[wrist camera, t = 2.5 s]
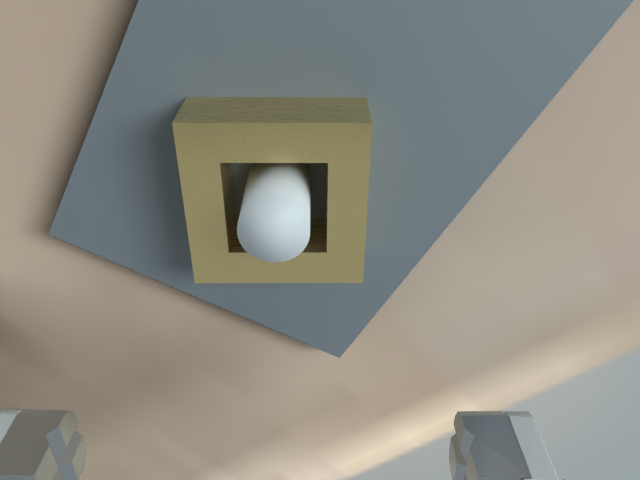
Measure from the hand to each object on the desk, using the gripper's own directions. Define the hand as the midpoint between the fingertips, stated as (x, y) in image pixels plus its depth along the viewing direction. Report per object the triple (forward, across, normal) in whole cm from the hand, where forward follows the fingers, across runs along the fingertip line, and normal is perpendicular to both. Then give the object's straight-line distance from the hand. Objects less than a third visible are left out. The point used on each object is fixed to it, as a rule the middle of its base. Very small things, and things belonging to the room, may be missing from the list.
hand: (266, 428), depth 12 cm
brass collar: (+12, 0, 0) cm, 12 cm away
